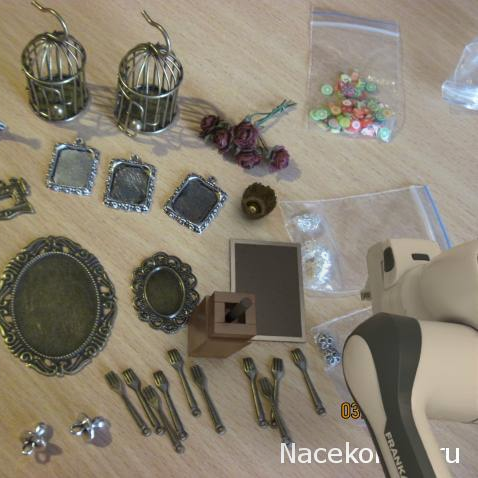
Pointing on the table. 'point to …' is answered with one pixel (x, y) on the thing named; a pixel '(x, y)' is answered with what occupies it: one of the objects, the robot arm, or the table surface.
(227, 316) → the stylus
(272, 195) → the cup
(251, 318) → the pen stand
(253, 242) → the tablet
